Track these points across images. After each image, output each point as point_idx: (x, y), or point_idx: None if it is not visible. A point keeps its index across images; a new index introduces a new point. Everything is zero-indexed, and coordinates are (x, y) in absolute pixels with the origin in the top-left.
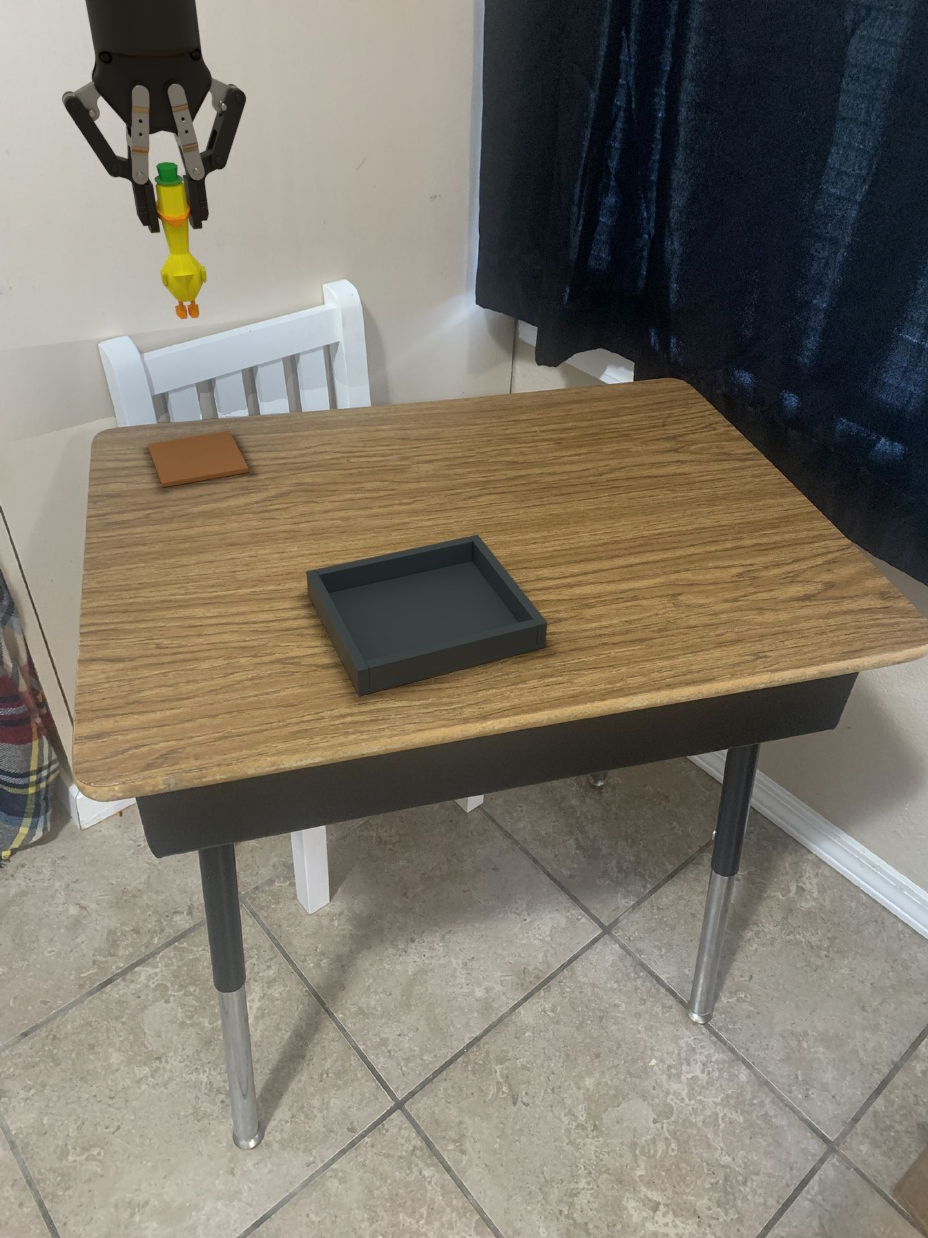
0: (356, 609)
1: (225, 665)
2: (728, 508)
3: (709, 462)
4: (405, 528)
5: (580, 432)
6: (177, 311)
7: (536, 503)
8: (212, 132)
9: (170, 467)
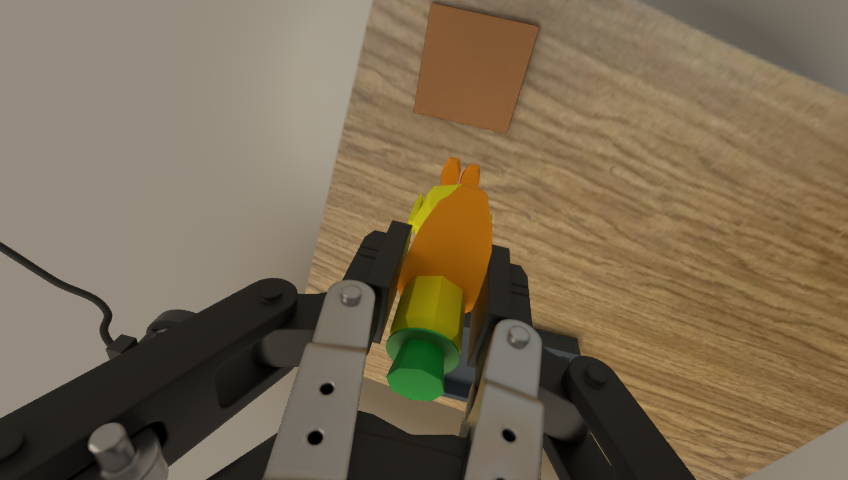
0: (467, 337)
1: None
2: (793, 398)
3: None
4: (564, 287)
5: None
6: (441, 181)
7: (683, 319)
8: (607, 458)
9: (433, 83)
